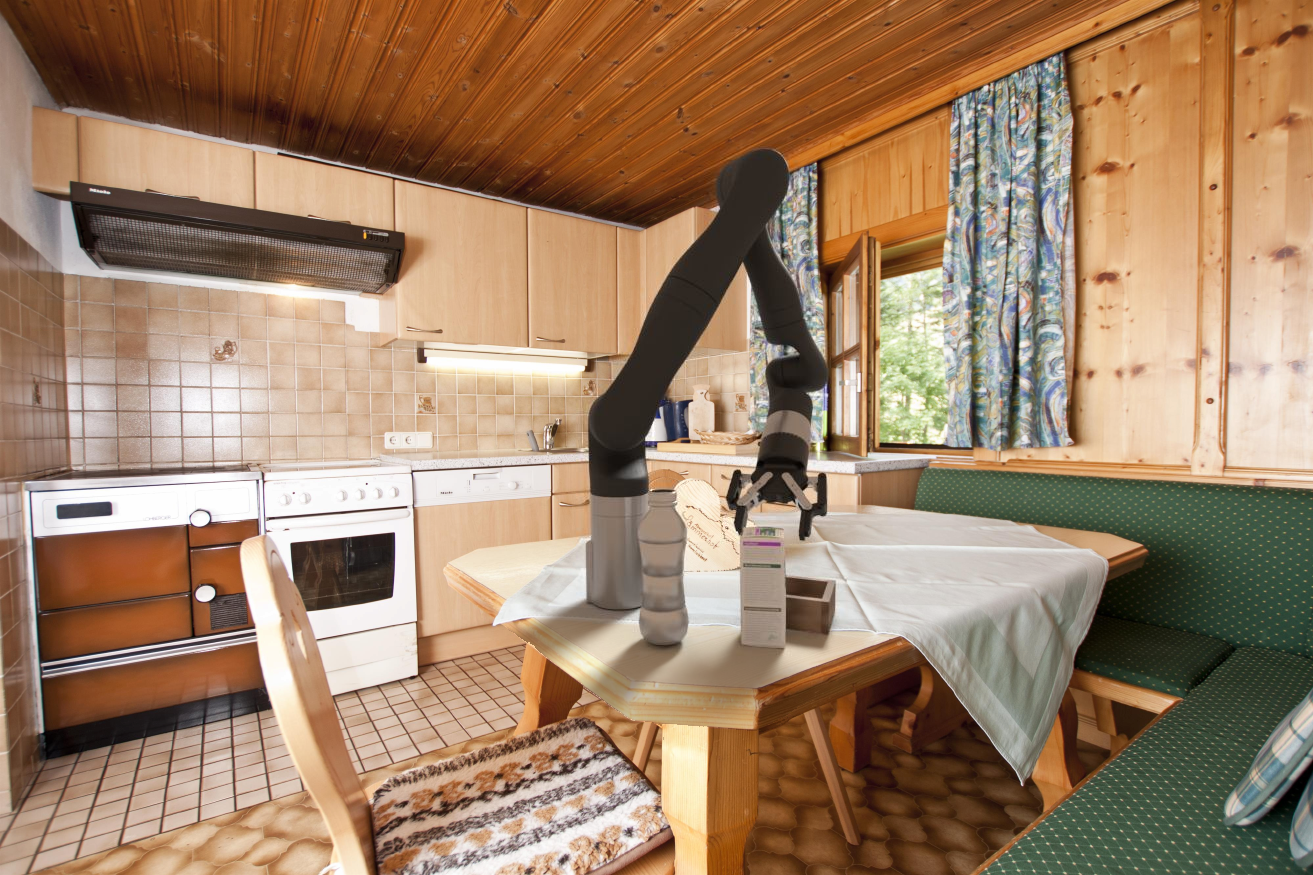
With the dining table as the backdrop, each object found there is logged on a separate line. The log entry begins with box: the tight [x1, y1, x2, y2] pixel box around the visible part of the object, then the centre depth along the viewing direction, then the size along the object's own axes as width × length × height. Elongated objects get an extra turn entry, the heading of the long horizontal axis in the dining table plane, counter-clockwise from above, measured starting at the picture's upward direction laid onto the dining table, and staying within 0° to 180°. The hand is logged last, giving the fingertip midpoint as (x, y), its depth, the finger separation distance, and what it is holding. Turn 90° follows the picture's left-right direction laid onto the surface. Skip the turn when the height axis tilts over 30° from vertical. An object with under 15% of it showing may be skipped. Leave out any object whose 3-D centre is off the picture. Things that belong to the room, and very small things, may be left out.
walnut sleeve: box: [786, 574, 837, 636], centre depth 85 cm, size 10×10×4 cm
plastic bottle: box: [638, 488, 690, 646], centre depth 76 cm, size 6×7×20 cm
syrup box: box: [739, 526, 787, 649], centre depth 77 cm, size 6×6×14 cm
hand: (770, 535), depth 81 cm, fingers open, 8 cm apart
